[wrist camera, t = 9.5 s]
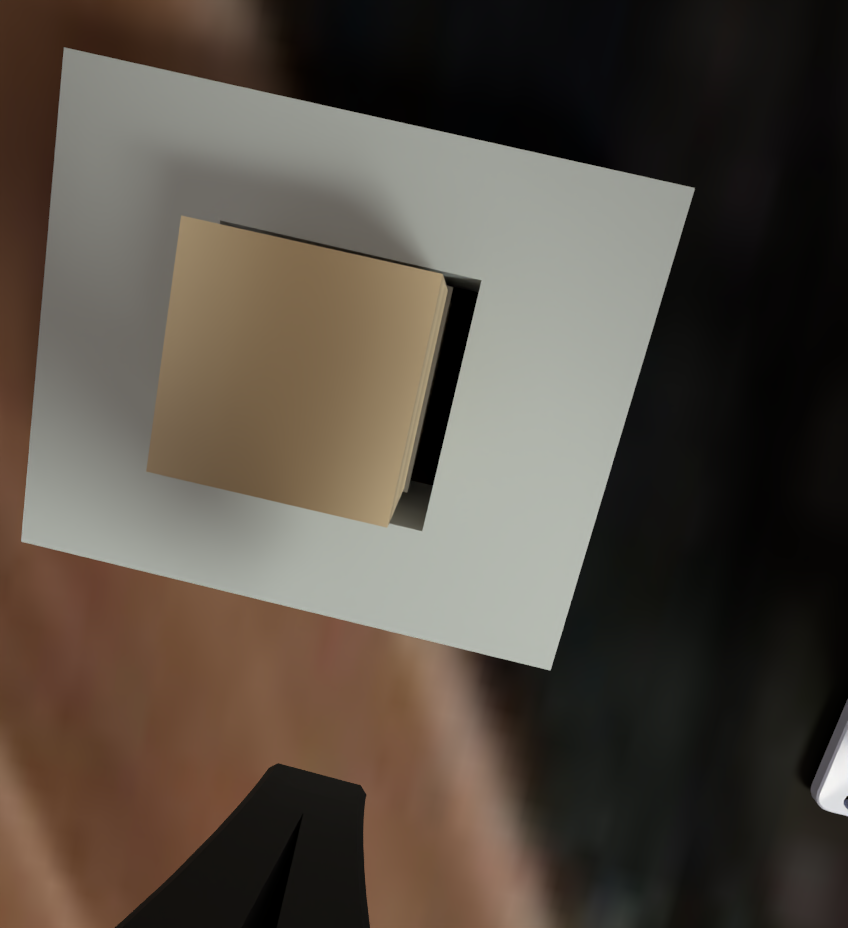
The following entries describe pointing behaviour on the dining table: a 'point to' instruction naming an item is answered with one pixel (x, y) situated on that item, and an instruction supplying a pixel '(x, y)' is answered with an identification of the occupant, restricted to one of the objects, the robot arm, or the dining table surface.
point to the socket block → (375, 236)
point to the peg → (296, 371)
